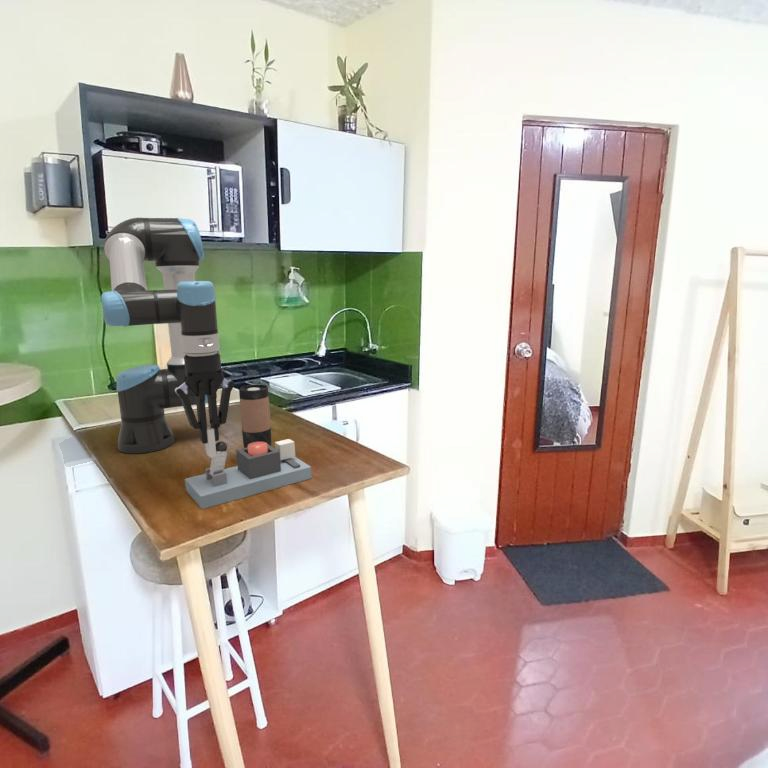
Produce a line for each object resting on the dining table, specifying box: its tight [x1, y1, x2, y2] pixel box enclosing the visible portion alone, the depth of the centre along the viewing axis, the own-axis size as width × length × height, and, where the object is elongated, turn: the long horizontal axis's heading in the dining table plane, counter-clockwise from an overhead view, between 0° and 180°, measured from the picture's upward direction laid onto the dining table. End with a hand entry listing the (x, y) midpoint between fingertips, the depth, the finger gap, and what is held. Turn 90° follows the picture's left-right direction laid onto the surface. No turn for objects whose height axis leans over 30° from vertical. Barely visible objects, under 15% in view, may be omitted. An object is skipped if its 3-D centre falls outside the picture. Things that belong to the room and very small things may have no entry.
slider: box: [274, 438, 296, 460], centre depth 131 cm, size 3×4×4 cm
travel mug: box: [238, 383, 273, 448], centre depth 140 cm, size 8×8×20 cm
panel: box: [184, 444, 313, 510], centre depth 124 cm, size 12×27×8 cm, turn 126°
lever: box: [209, 440, 228, 476], centre depth 119 cm, size 3×3×8 cm
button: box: [248, 442, 268, 456], centre depth 125 cm, size 5×5×6 cm
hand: (211, 455), depth 118 cm, fingers closed
